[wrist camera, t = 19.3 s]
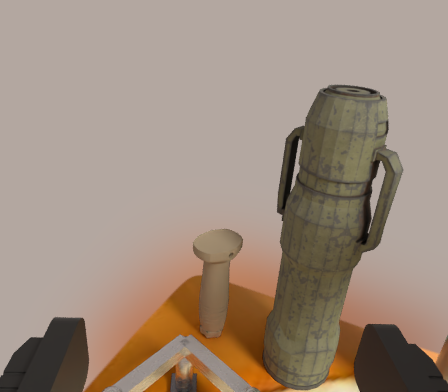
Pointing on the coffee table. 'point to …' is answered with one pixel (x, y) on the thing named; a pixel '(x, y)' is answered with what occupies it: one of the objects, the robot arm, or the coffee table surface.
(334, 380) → the coffee table surface
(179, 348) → the bent rail
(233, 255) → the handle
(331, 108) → the thermos
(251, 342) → the coffee table surface
